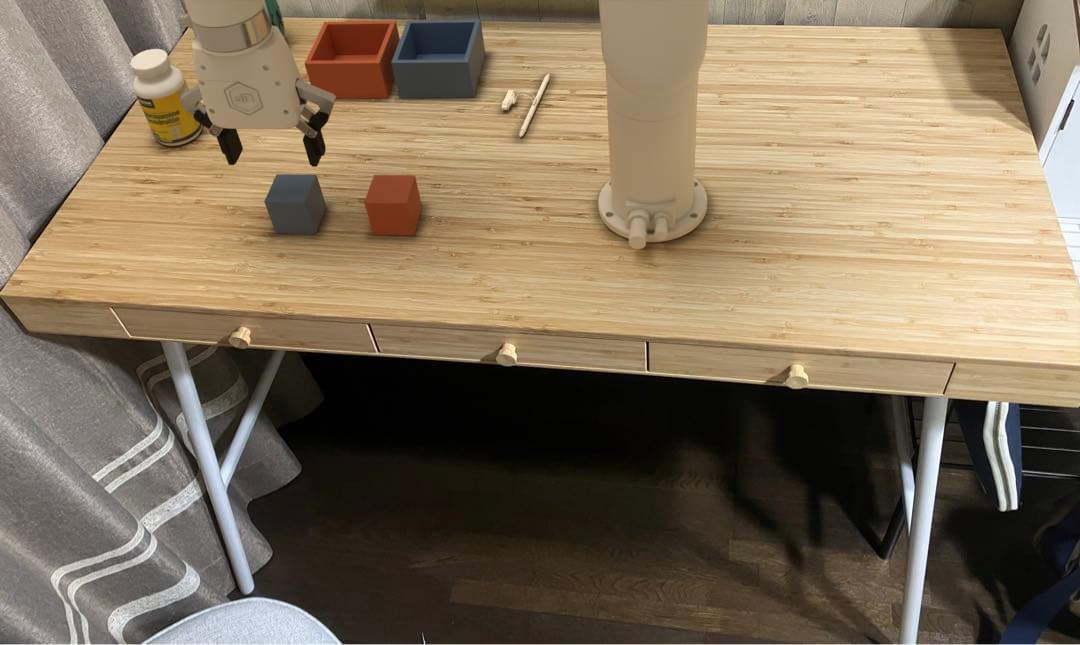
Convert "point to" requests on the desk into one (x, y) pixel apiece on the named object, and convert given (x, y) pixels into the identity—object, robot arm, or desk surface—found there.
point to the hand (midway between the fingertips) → (276, 158)
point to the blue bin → (439, 59)
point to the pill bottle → (163, 98)
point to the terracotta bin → (354, 58)
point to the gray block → (295, 203)
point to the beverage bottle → (275, 15)
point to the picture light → (512, 99)
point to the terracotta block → (393, 204)
